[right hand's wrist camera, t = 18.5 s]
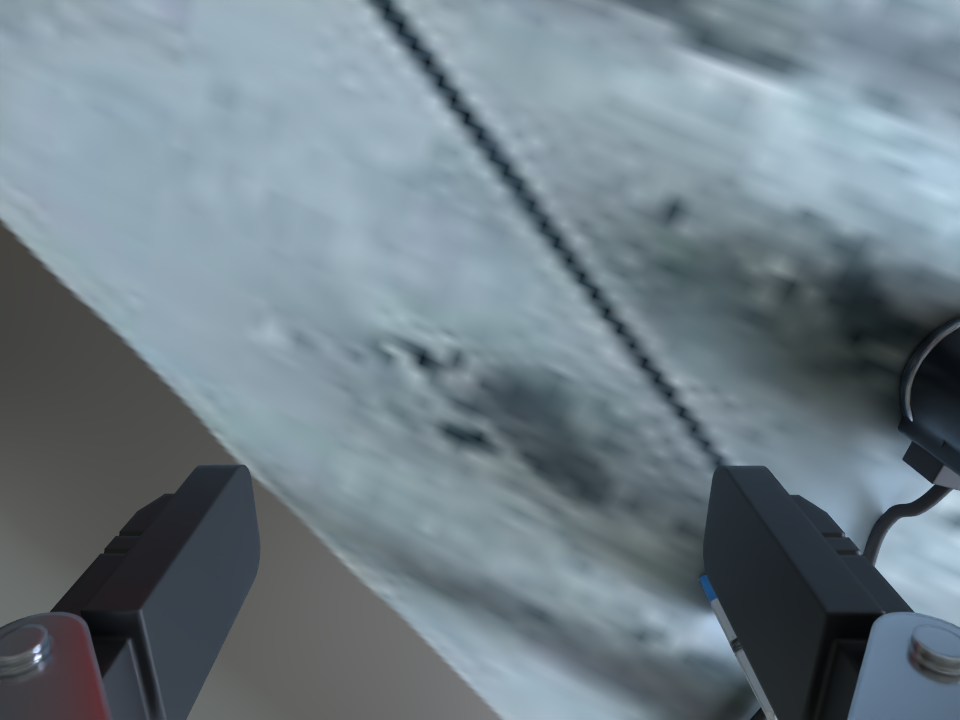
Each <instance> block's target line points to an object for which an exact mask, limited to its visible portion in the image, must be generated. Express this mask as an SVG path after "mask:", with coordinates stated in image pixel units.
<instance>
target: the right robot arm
mask: <svg viewBox="0 0 960 720" xmlns="http://www.w3.org/2000/svg"><path fill="white" fill-rule="evenodd" d="M900 404H901V409H902V412H903V414H904V416H903V419H902V421H901V423H900V425H899V427H898V430H899V431H900V432H901V433H902V434H904V435H905V436H906V437H908V438H909V439H910V440H912V443H911V445H910V446H909V448H908V450H907V452H906V454H905V455H904V457H903V461H905V462H906V463H907V464H908V465H910V466H911V467H912V468H913V469H915V470H916V471H917V472H918V473H920V474H921V475H922V476H923V477H924V478H926V479H927V480H928V481H929V482H931V483H932V484H935V485H934V486H933V487H932V488H931V489H930V490H929V491H927V492H926V493H925V494H924V495H923V496H921V497H920V498H919V499H917V500H915V501H914V502H911V503H908V504H898V505H894V506H892V507H890V508H889V509H888V510H887V511H886V512H885V513H884V514H883V515H882V516H881V518H880V519H879V520H878V521H877V523H876V524H875V526H874V528H873V529H872V531H871V534H870V536H869V538H868V541H867V544H866V547H865V550H864V553H863V555H861V554H860V550H859V549H858V548H857V546H856V545H855V544H854V543H853V542H852V541H851V540H850V538H846V537H845V533H844V532H843V530H842V529H841V528H840V527H839V526H838V525H837V524H836V523H835V521H834V520H833V519H832V518H831V517H830V516H829V515H828V513H827V512H825V511H823V510H822V509H820V508H819V507H817V506H815V505H814V504H812V503H811V502H809V501H808V500H806V499H804V498H803V497H801V496H800V495H789V494H788V492H787V491H786V490H785V489H784V488H783V486H782V485H781V484H780V483H779V482H778V480H777V479H776V478H775V477H774V475H773V474H772V473H771V472H770V471H769V469H768V468H766V467H765V466H718V467H717V468H716V470H715V472H714V475H713V479H712V486H711V493H710V500H709V507H708V514H707V521H706V528H705V535H704V542H703V557H704V565H705V570H706V574H707V577H708V580H709V582H710V584H711V586H712V588H713V590H714V592H715V594H716V596H717V598H718V600H719V602H720V604H721V606H722V608H723V610H724V612H725V614H726V616H727V618H728V620H729V623H730V625H731V627H732V629H733V631H734V633H735V635H736V637H737V639H738V641H739V643H740V645H741V647H742V649H743V651H744V653H745V655H746V657H747V659H748V661H749V663H750V665H751V667H752V669H753V671H754V673H755V675H756V677H757V679H758V681H759V683H760V685H761V687H762V689H763V691H764V693H765V695H766V697H767V699H768V701H769V703H770V705H771V707H772V709H773V711H774V713H775V715H776V718H777V720H960V627H958V626H956V625H954V624H951V623H949V622H946V621H944V620H941V619H938V618H935V617H932V616H928V615H924V614H920V613H915V612H914V611H913V610H912V609H911V608H910V607H909V606H908V604H907V603H906V602H905V601H904V600H903V599H902V598H901V596H900V595H899V594H898V593H897V592H896V591H895V590H894V588H893V587H892V586H891V585H890V584H889V583H888V582H887V581H886V579H885V578H884V577H883V576H882V575H881V574H880V573H879V571H878V570H877V569H876V568H875V563H876V560H877V556H878V553H879V550H880V547H881V544H882V542H883V540H884V537H885V535H886V534H887V532H888V530H889V529H890V528H891V526H892V525H893V524H894V523H895V522H896V521H897V520H898V519H900V518H902V517H912V516H917V515H920V514H922V513H924V512H926V511H927V510H929V509H931V508H932V507H933V506H935V505H936V504H937V503H938V502H939V501H941V500H942V499H943V498H944V497H945V496H946V495H947V494H948V493H949V492H950V491H952V490H953V489H956V490H960V317H957V318H955V319H953V320H951V321H949V322H947V323H946V324H944V325H943V326H941V327H940V328H938V329H937V330H936V331H934V332H933V333H932V334H931V335H930V336H928V337H927V338H926V339H925V340H924V341H923V342H922V343H921V345H920V346H919V347H918V348H917V349H916V351H915V352H914V354H913V355H912V357H911V358H910V360H909V362H908V364H907V366H906V368H905V370H904V373H903V376H902V380H901V385H900ZM259 560H260V538H259V531H258V524H257V517H256V510H255V503H254V495H253V489H252V481H251V475H250V472H249V470H248V468H247V467H246V466H245V465H199V466H197V467H196V468H195V469H194V471H193V472H192V473H191V474H190V475H189V477H188V478H187V479H186V480H185V482H184V483H183V484H182V485H181V487H180V488H179V489H178V490H177V492H176V493H175V494H164V495H162V496H161V497H159V498H158V499H156V500H155V501H153V502H151V503H150V504H148V505H147V506H145V507H144V508H142V509H140V510H139V511H137V512H136V514H135V515H134V516H133V517H132V518H131V519H130V520H129V522H128V523H127V524H126V525H125V526H124V527H123V528H122V530H121V531H120V534H119V536H116V537H115V538H114V539H113V540H112V541H111V542H110V543H109V545H108V546H107V547H106V548H105V551H104V554H100V555H99V556H98V557H97V558H96V560H95V561H94V562H93V563H92V564H91V565H90V566H89V568H88V569H87V570H86V571H85V572H84V573H83V574H82V576H81V577H80V578H79V579H78V580H77V581H76V583H75V584H74V585H73V586H72V587H71V588H70V589H69V590H68V592H67V593H66V594H65V595H64V596H63V597H62V599H61V600H60V601H59V602H58V603H57V604H56V605H55V607H54V608H53V609H52V610H51V611H50V612H48V613H41V614H36V615H32V616H28V617H25V618H22V619H19V620H16V621H14V622H11V623H9V624H6V625H4V626H2V627H0V720H186V719H187V717H188V715H189V713H190V711H191V709H192V706H193V704H194V702H195V700H196V698H197V696H198V694H199V692H200V690H201V688H202V686H203V684H204V682H205V680H206V678H207V676H208V674H209V672H210V670H211V668H212V666H213V663H214V661H215V659H216V657H217V655H218V653H219V651H220V649H221V647H222V645H223V643H224V641H225V639H226V637H227V635H228V633H229V631H230V629H231V627H232V625H233V623H234V621H235V618H236V616H237V614H238V612H239V610H240V608H241V606H242V604H243V602H244V600H245V598H246V596H247V594H248V592H249V590H250V588H251V586H252V584H253V582H254V579H255V577H256V574H257V570H258V566H259ZM750 720H767V717H766V716H765V714H764V712H763V710H762V708H760V709H759V710H758V711H757V712H756V714H755V715H754V716H753V717H752V718H751V719H750Z"/></svg>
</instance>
